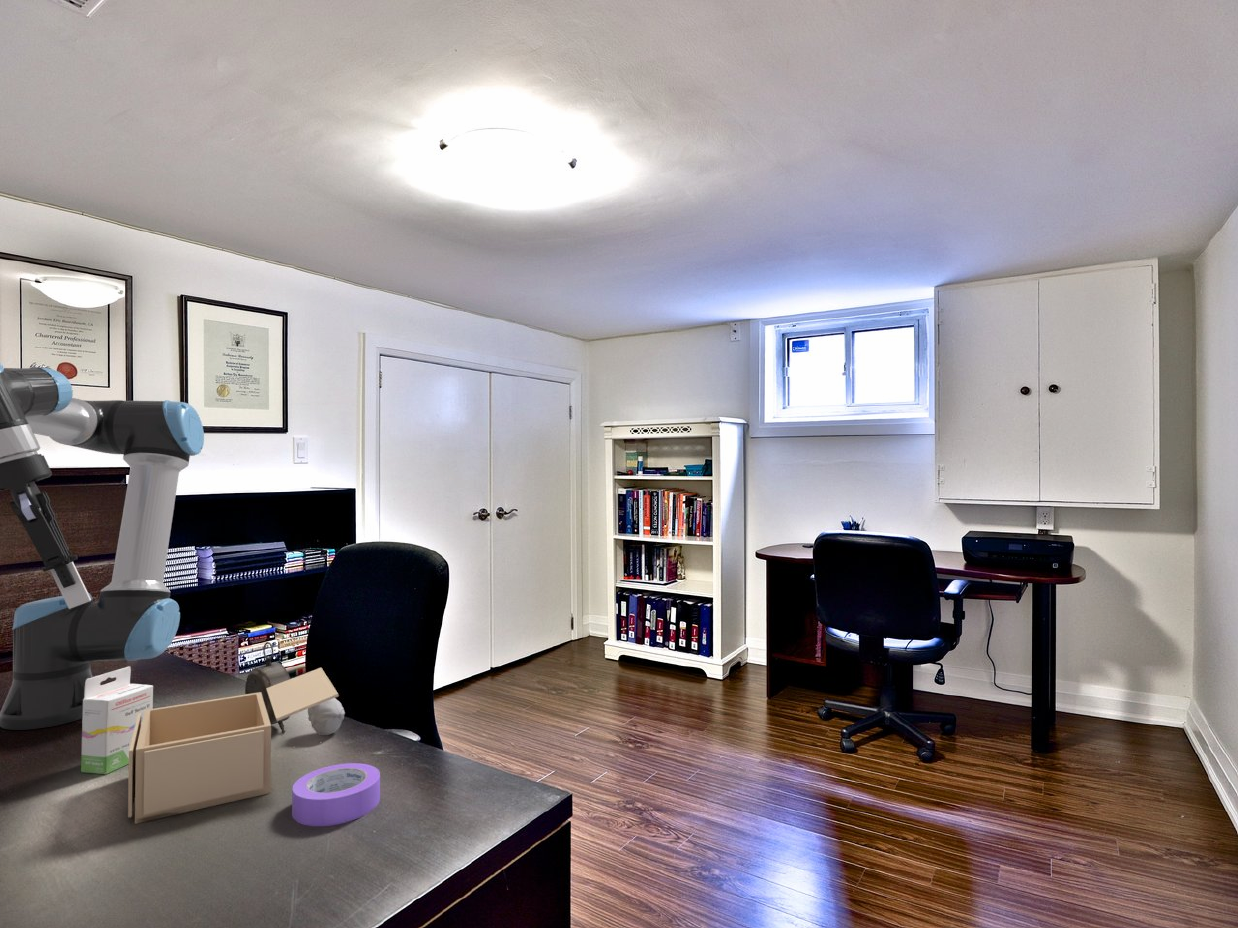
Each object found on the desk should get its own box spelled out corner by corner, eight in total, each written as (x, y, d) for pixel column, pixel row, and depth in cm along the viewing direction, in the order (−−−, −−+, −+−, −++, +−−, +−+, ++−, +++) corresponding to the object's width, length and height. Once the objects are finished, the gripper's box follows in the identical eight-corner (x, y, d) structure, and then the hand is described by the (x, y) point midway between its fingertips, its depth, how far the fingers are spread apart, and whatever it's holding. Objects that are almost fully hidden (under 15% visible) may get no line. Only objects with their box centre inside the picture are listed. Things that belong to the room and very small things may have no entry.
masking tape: (284, 802, 97) (284, 775, 97) (366, 780, 104) (366, 755, 104) (302, 837, 88) (302, 807, 88) (391, 810, 95) (391, 783, 95)
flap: (266, 688, 115) (321, 667, 119) (266, 690, 115) (321, 669, 119) (276, 718, 100) (338, 693, 105) (276, 721, 100) (338, 695, 105)
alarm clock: (295, 732, 123) (296, 643, 123) (265, 741, 118) (266, 649, 119) (268, 718, 129) (269, 634, 130) (238, 726, 125) (239, 640, 125)
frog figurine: (329, 724, 126) (330, 687, 127) (352, 732, 123) (352, 694, 123) (299, 734, 121) (299, 696, 121) (322, 743, 118) (322, 703, 118)
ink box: (105, 775, 105) (106, 681, 105) (79, 772, 106) (81, 679, 106) (154, 753, 113) (155, 666, 114) (129, 750, 114) (130, 664, 115)
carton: (137, 772, 106) (138, 709, 106) (260, 748, 115) (260, 690, 115) (127, 827, 89) (128, 753, 90) (270, 794, 99) (271, 727, 99)
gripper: (-14, 467, 101) (55, 607, 106) (-34, 469, 90) (44, 624, 95) (47, 451, 105) (111, 586, 110) (35, 451, 94) (106, 600, 99)
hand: (80, 603), depth 102 cm, fingers closed
